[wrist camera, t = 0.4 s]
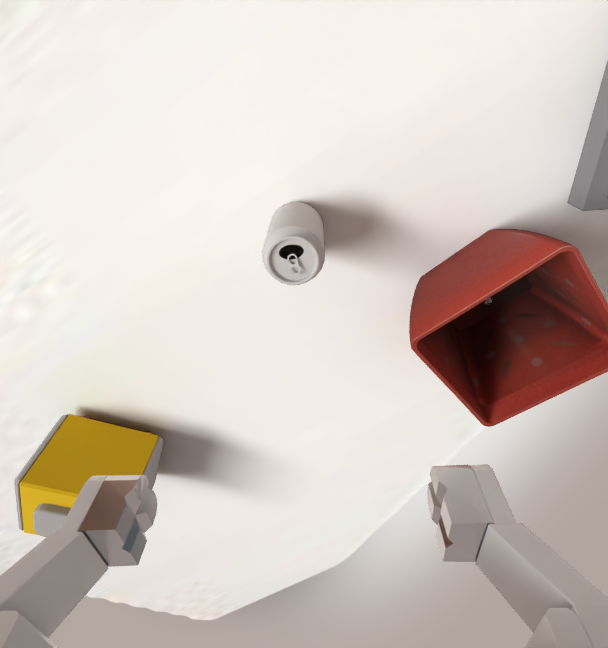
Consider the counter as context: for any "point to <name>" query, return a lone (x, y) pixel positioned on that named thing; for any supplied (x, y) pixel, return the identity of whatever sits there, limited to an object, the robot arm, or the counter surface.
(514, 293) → the plant pot
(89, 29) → the counter surface
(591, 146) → the rocker switch panel
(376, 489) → the counter surface
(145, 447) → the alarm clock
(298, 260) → the can
